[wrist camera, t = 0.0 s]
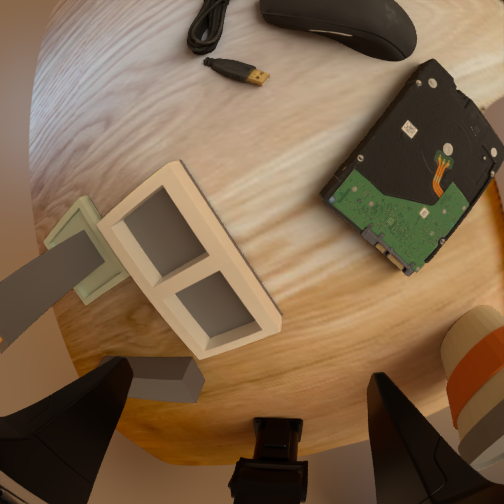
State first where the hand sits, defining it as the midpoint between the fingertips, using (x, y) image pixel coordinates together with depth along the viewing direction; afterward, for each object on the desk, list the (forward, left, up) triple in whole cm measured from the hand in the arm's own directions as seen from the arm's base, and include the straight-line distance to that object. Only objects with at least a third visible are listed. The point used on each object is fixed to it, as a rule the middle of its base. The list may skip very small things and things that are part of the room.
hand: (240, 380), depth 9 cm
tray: (-1, +20, -15) cm, 24 cm away
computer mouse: (+17, -3, -15) cm, 23 cm away
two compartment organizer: (-3, +7, -15) cm, 17 cm away
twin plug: (-17, +16, -15) cm, 28 cm away
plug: (-1, +20, -14) cm, 24 cm away
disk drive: (+6, -12, -15) cm, 20 cm away
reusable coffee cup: (-12, -23, -15) cm, 30 cm away
